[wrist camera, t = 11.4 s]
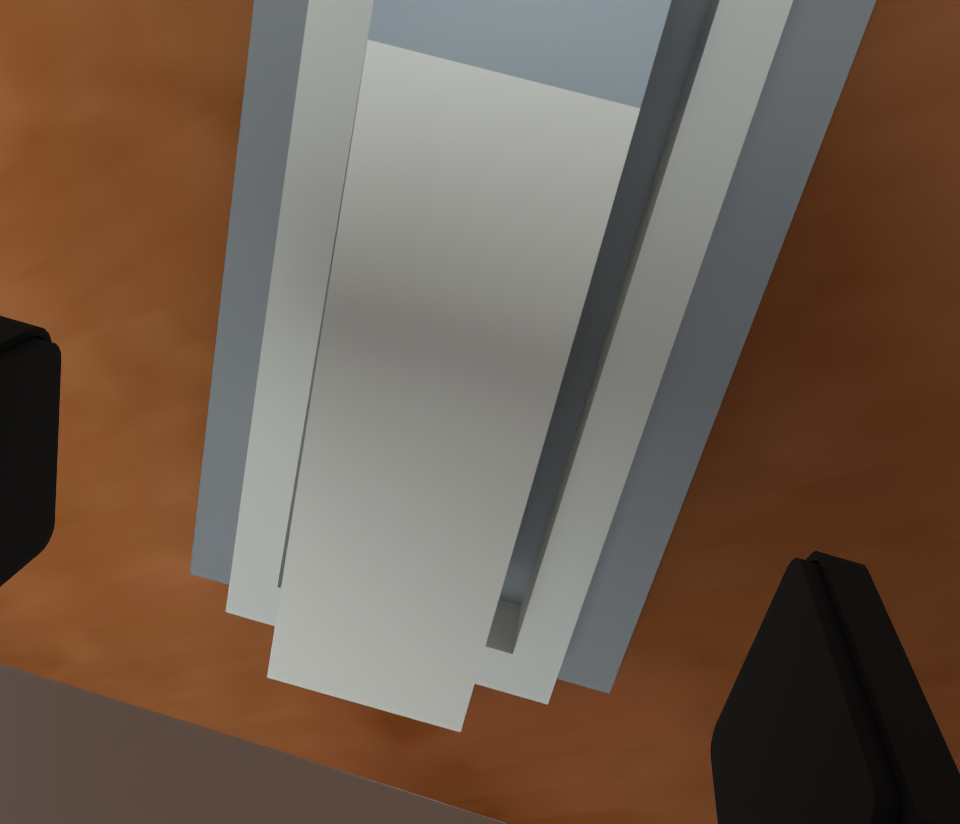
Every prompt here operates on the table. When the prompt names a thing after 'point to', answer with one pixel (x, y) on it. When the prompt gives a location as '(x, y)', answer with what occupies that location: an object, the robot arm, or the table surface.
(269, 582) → the tray
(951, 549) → the table surface
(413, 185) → the butter block
